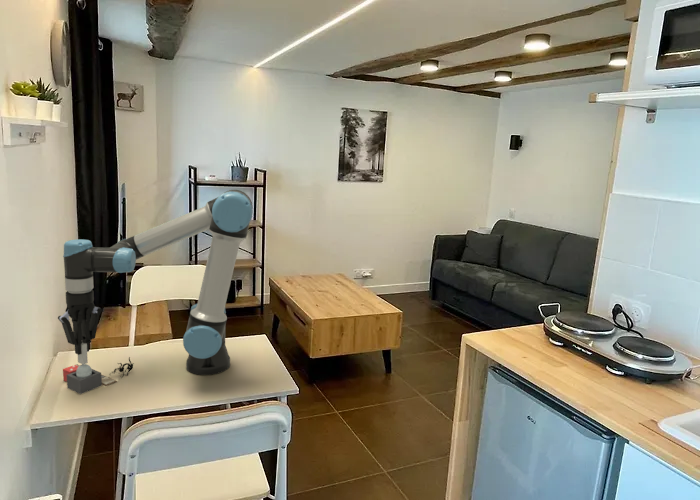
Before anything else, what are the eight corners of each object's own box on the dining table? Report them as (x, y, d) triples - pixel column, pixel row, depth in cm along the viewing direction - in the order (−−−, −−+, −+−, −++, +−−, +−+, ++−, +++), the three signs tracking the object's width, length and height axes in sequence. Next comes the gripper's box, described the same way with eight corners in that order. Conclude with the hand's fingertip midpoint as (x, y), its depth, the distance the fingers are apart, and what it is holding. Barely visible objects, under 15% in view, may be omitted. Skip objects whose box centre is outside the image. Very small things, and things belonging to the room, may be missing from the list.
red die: (82, 379, 159) (82, 366, 158) (70, 383, 155) (70, 370, 154) (75, 376, 161) (74, 363, 160) (63, 380, 157) (62, 367, 156)
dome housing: (101, 385, 155) (101, 372, 154) (80, 394, 149) (79, 380, 148) (88, 380, 158) (87, 367, 158) (67, 388, 152) (66, 374, 152)
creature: (113, 384, 158) (138, 374, 163) (108, 370, 157) (133, 360, 161) (108, 375, 165) (132, 366, 169) (103, 362, 163) (128, 352, 167)
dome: (94, 377, 154) (94, 364, 153) (81, 382, 150) (81, 368, 149) (86, 374, 156) (85, 360, 155) (73, 378, 152) (73, 365, 151)
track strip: (117, 381, 158) (117, 380, 158) (105, 386, 155) (105, 384, 155) (77, 365, 169) (76, 363, 169) (65, 369, 165) (65, 367, 165)
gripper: (92, 284, 155) (95, 353, 160) (50, 292, 144) (54, 366, 148) (107, 288, 152) (109, 358, 156) (65, 297, 140) (69, 372, 145)
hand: (82, 362), depth 152 cm, fingers closed
